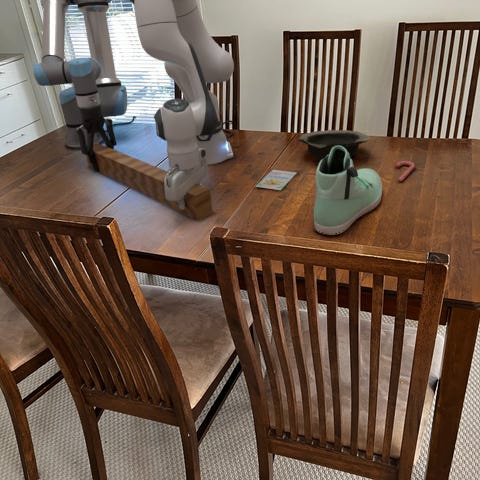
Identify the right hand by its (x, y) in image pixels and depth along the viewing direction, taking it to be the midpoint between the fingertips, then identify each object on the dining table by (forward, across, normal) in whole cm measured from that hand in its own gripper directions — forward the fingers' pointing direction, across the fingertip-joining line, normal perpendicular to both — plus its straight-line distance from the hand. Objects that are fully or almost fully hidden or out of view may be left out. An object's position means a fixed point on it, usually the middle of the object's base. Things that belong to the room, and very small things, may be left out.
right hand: (189, 202), depth 144 cm
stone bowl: (+3, +51, -32) cm, 60 cm away
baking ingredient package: (+3, +26, -18) cm, 32 cm away
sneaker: (+3, +13, -45) cm, 47 cm away
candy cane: (+3, +41, -57) cm, 70 cm away
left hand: (+2, +21, +47) cm, 51 cm away
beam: (+3, +10, +23) cm, 26 cm away
